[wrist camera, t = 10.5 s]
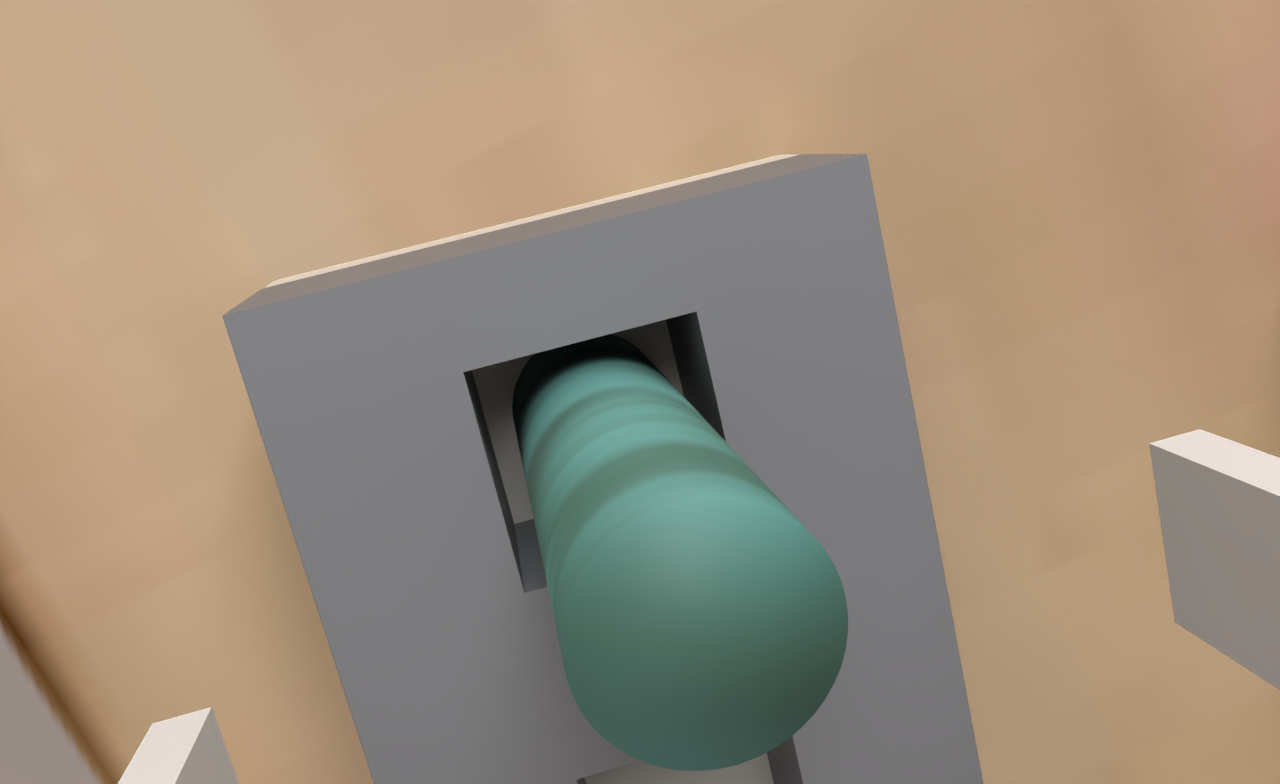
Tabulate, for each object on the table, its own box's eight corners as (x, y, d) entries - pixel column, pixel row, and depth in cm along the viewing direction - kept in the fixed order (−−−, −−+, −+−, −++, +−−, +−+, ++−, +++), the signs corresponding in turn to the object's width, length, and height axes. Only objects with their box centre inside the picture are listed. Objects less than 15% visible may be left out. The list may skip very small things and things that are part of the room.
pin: (678, 456, 31) (872, 723, 16) (533, 496, 31) (601, 805, 16) (644, 314, 30) (817, 461, 16) (494, 353, 30) (528, 542, 15)
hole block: (907, 784, 36) (1010, 929, 30) (474, 918, 35) (477, 1101, 28) (779, 154, 32) (866, 154, 25) (275, 280, 30) (222, 315, 24)
